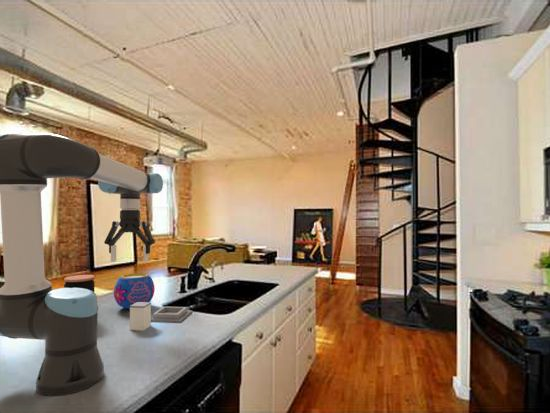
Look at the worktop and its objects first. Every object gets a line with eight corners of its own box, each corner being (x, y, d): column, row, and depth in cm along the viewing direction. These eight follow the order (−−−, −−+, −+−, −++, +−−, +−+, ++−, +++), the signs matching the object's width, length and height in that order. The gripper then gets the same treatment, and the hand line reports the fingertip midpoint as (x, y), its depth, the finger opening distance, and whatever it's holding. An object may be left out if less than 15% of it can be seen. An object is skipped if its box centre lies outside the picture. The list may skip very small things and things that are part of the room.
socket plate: (180, 322, 132) (180, 316, 132) (146, 321, 134) (146, 315, 134) (192, 312, 146) (192, 306, 146) (161, 311, 147) (161, 305, 148)
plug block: (143, 330, 123) (144, 306, 124) (129, 329, 124) (129, 305, 124) (150, 325, 129) (151, 302, 129) (137, 324, 130) (137, 301, 130)
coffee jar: (56, 324, 130) (57, 278, 130) (80, 316, 140) (80, 274, 140) (77, 327, 126) (78, 280, 127) (100, 319, 137) (100, 275, 137)
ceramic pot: (147, 300, 165) (147, 270, 166) (159, 308, 151) (160, 275, 152) (109, 306, 154) (109, 274, 155) (119, 316, 140) (119, 280, 141)
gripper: (163, 209, 138) (163, 260, 137) (106, 209, 139) (105, 259, 139) (155, 209, 130) (155, 263, 130) (95, 209, 132) (94, 262, 132)
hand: (129, 261), depth 134 cm, fingers open, 13 cm apart
